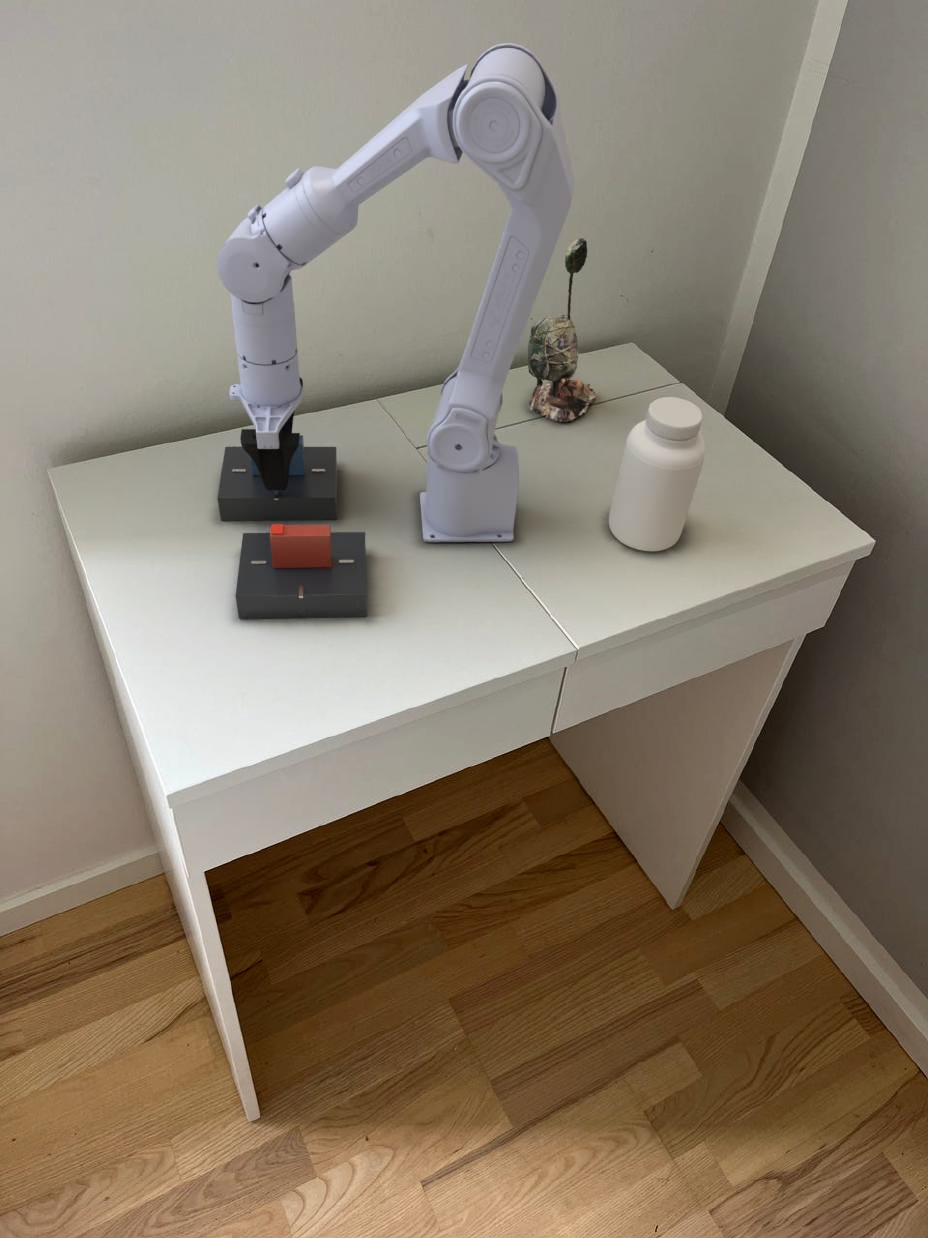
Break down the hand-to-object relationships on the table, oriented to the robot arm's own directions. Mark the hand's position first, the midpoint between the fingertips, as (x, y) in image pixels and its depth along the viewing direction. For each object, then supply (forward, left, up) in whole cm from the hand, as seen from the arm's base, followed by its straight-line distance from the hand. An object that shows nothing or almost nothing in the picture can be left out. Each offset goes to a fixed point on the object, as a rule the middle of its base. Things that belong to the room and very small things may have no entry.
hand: (278, 465), depth 100 cm
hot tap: (-3, +15, -1) cm, 15 cm away
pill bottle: (-39, +7, -4) cm, 40 cm away
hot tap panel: (-3, +15, -4) cm, 15 cm away
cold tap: (0, 0, -1) cm, 1 cm away
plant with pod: (-33, -17, -4) cm, 38 cm away
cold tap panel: (0, 0, -4) cm, 4 cm away
